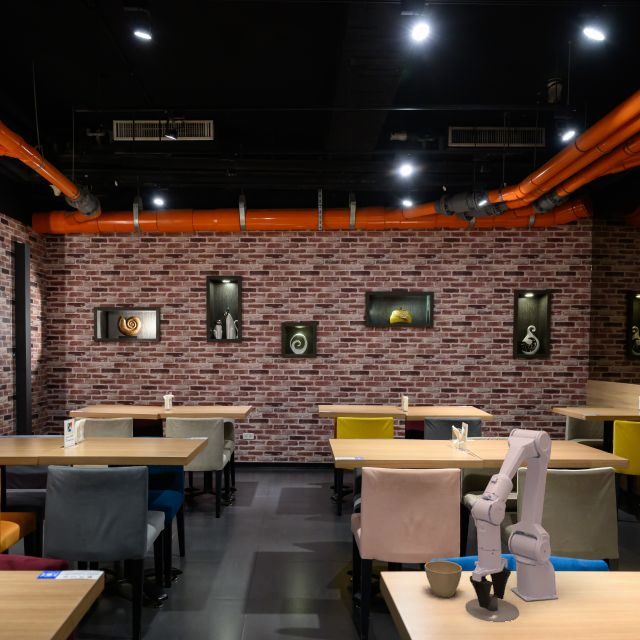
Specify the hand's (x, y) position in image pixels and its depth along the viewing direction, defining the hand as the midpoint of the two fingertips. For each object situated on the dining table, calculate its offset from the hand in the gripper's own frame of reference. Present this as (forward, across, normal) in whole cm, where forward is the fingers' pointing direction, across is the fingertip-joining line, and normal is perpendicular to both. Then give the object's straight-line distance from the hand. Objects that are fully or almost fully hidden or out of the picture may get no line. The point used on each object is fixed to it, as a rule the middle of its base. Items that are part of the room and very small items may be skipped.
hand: (491, 602), depth 135 cm
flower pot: (+2, 0, -14) cm, 15 cm away
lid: (+2, 0, 0) cm, 2 cm away
